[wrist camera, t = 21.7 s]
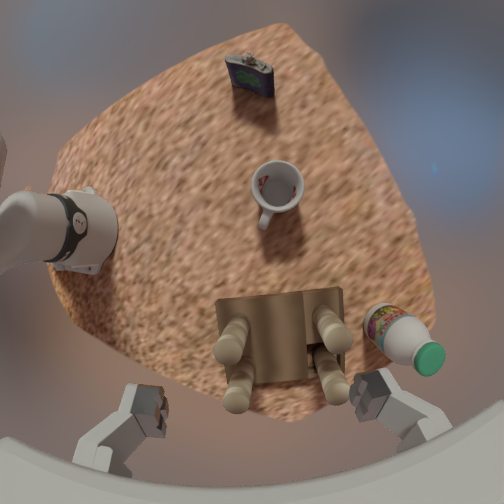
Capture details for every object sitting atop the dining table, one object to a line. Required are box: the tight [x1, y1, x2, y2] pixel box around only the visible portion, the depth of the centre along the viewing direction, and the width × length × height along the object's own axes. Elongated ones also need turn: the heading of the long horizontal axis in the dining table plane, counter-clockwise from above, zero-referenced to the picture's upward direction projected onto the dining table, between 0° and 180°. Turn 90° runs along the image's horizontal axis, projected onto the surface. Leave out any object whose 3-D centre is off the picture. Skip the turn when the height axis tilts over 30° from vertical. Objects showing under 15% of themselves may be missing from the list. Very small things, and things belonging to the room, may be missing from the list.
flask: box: [225, 53, 275, 98], centre depth 41 cm, size 9×3×11 cm, turn 63°
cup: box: [251, 160, 305, 230], centre depth 43 cm, size 11×8×8 cm
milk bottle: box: [364, 303, 445, 376], centre depth 36 cm, size 8×8×20 cm
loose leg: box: [312, 343, 350, 405], centre depth 39 cm, size 4×4×16 cm
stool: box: [213, 286, 353, 414], centre depth 40 cm, size 22×16×16 cm
